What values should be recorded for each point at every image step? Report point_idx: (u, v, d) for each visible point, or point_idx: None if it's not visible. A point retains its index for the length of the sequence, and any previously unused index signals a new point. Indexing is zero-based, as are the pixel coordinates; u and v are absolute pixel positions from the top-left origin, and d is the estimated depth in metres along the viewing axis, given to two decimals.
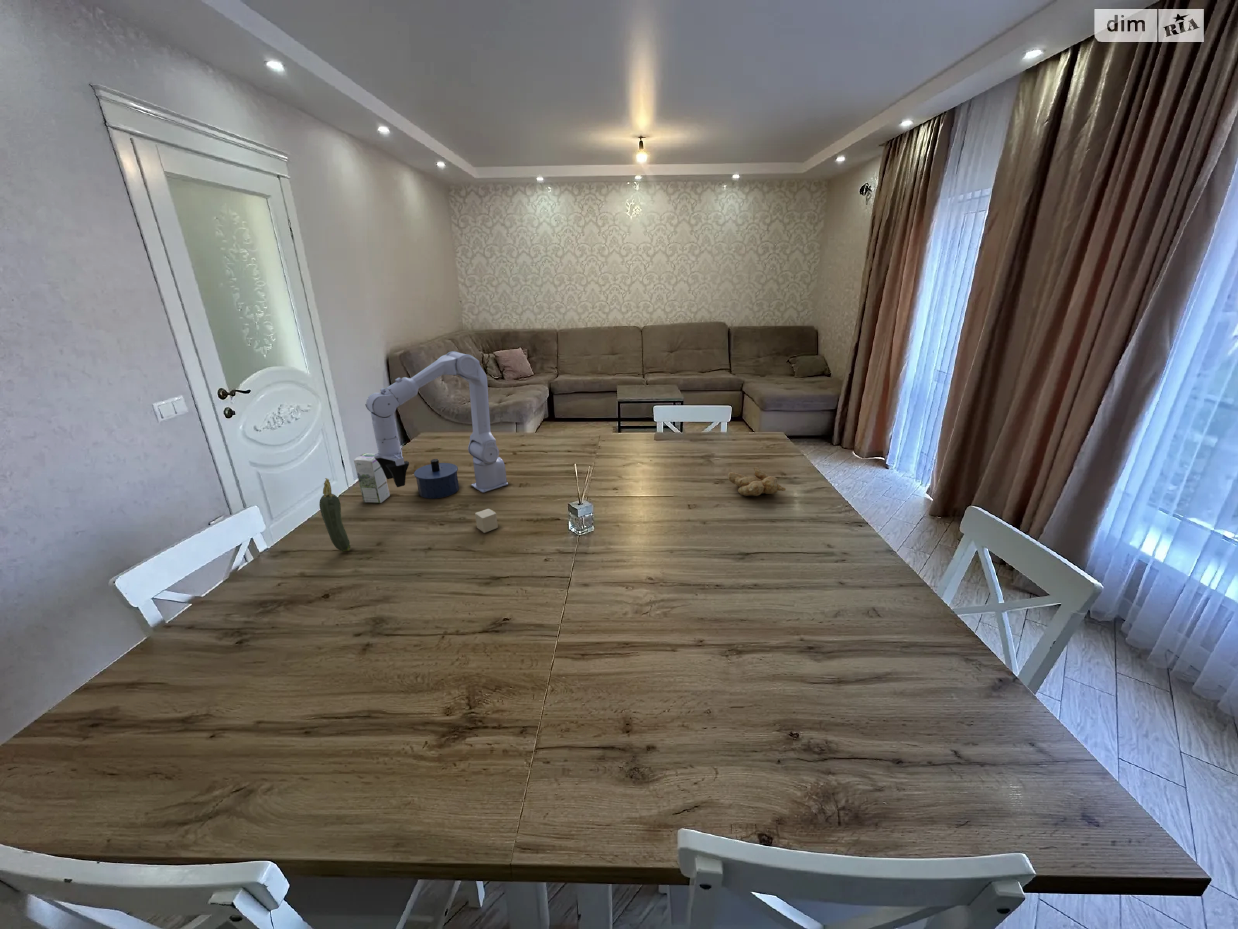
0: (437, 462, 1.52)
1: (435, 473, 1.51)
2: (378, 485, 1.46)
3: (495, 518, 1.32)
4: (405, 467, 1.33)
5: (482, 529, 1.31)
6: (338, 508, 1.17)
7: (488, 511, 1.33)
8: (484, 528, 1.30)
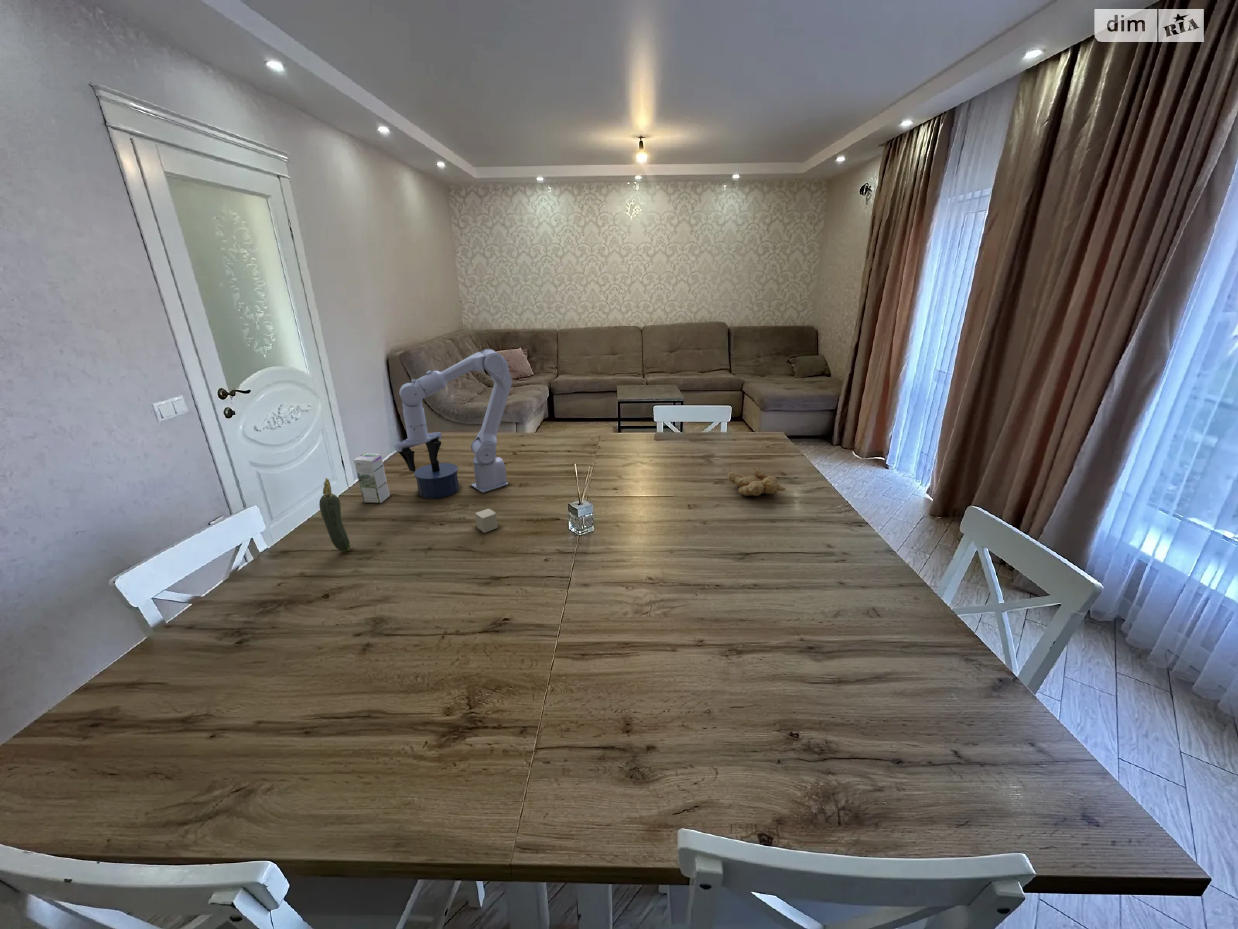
0: (437, 462, 1.52)
1: (435, 473, 1.51)
2: (378, 485, 1.46)
3: (495, 518, 1.32)
4: (406, 455, 1.41)
5: (482, 529, 1.31)
6: (338, 508, 1.17)
7: (488, 511, 1.33)
8: (484, 528, 1.30)
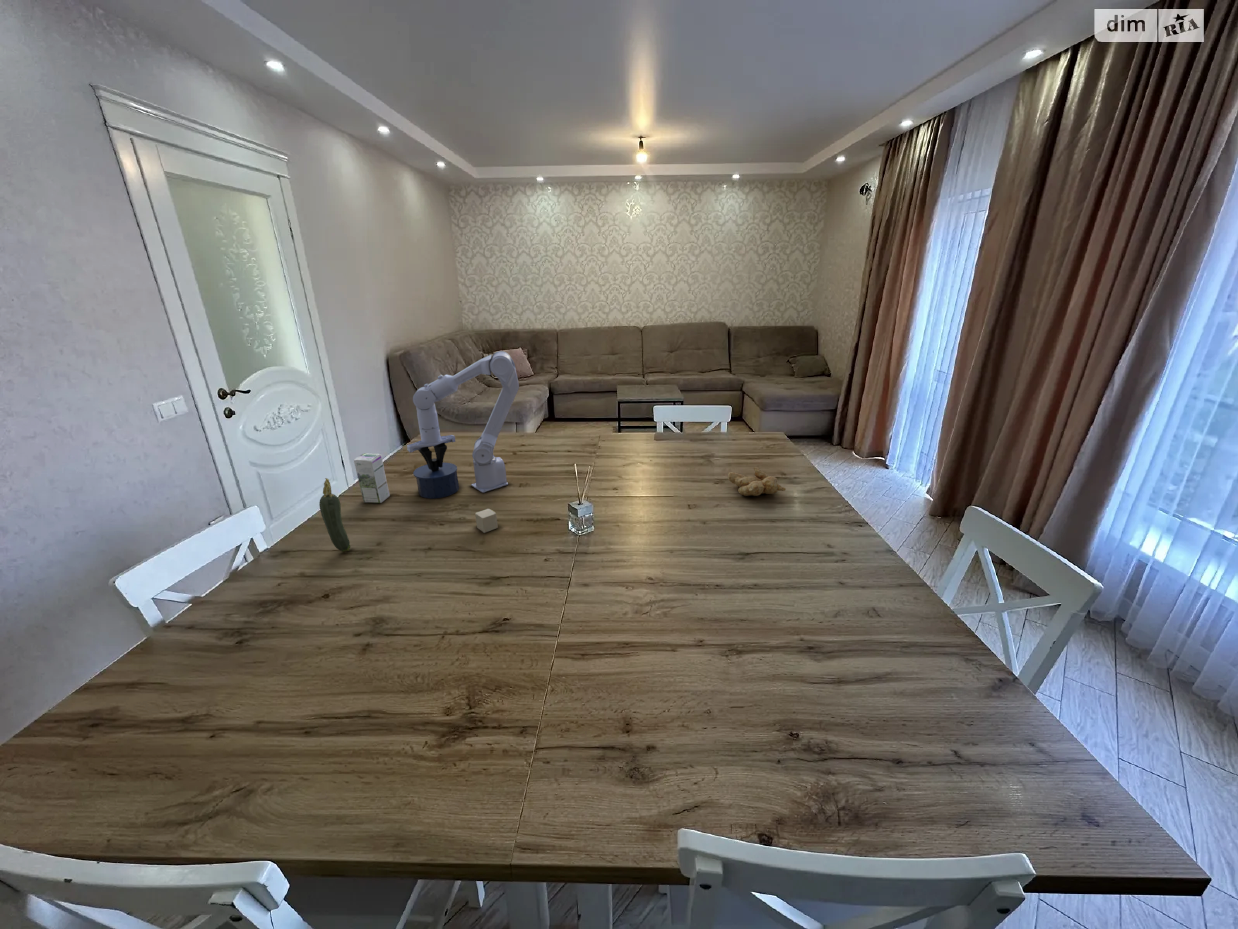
0: (436, 462, 1.52)
1: (434, 473, 1.52)
2: (378, 485, 1.46)
3: (495, 518, 1.32)
4: (424, 454, 1.48)
5: (482, 529, 1.31)
6: (338, 508, 1.17)
7: (488, 511, 1.33)
8: (484, 528, 1.30)
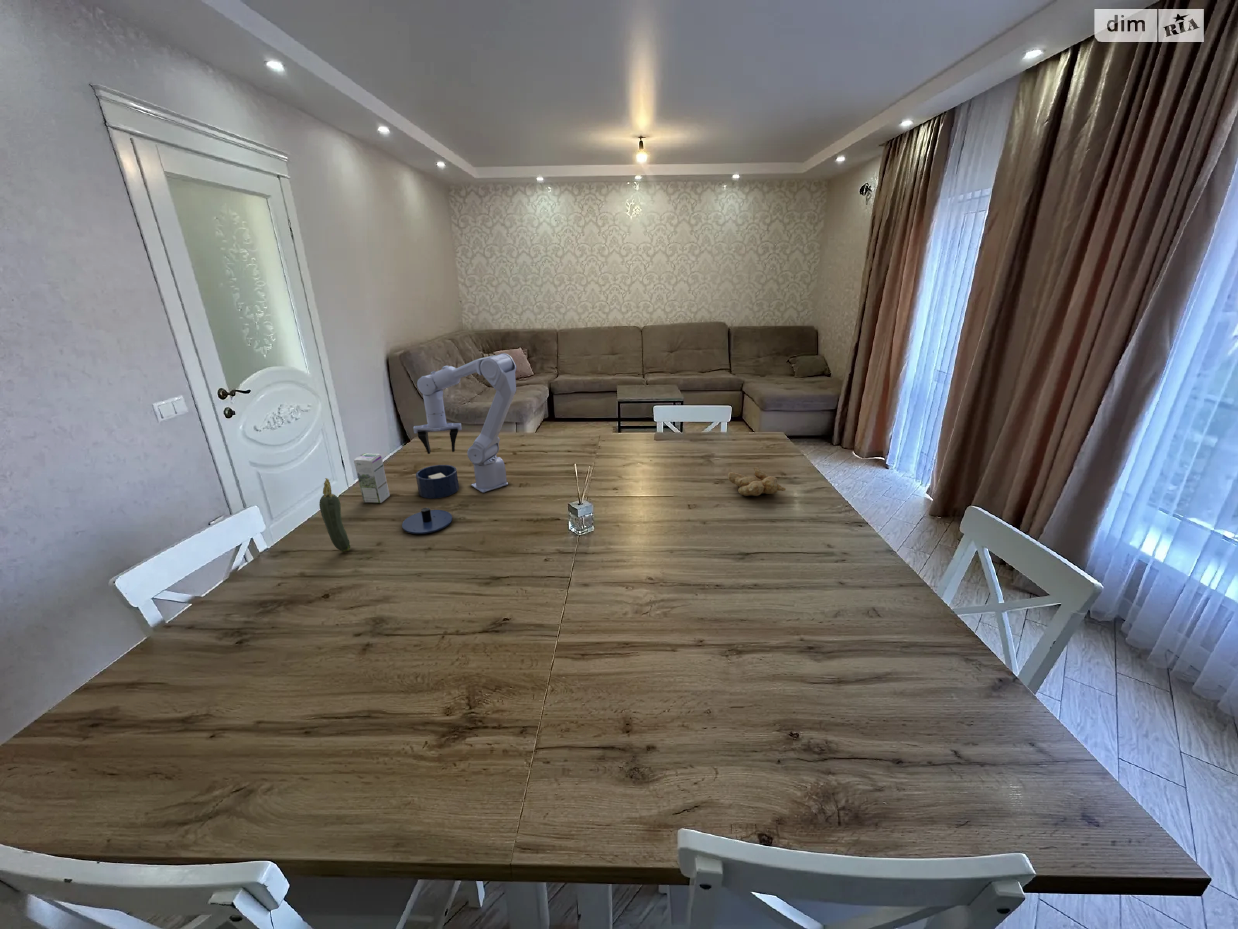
0: (428, 512, 1.33)
1: (426, 525, 1.33)
2: (378, 485, 1.46)
3: None
4: None
5: None
6: (338, 508, 1.17)
7: (439, 474, 1.55)
8: None
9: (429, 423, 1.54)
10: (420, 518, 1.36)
